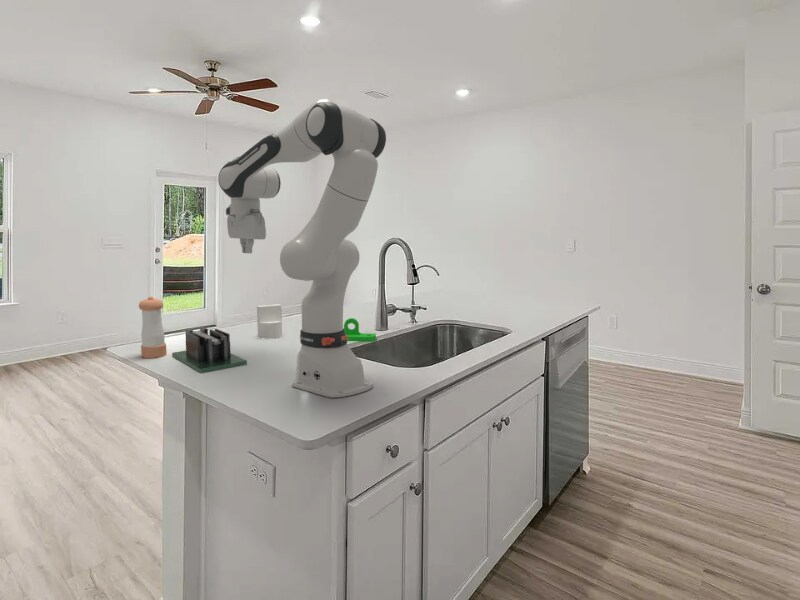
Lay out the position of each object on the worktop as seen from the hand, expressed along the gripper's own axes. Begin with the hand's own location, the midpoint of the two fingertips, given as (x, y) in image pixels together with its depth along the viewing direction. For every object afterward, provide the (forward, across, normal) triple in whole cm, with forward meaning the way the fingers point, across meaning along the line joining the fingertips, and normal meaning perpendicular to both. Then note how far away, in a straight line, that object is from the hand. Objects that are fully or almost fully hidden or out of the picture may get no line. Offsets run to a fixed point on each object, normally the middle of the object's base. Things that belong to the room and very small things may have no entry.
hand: (247, 253), depth 158 cm
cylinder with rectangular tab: (+33, +19, -17) cm, 42 cm away
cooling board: (+33, 0, +14) cm, 36 cm away
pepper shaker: (+33, +17, +25) cm, 45 cm away
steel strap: (+27, +1, +14) cm, 30 cm away
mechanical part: (+34, -8, -40) cm, 53 cm away
